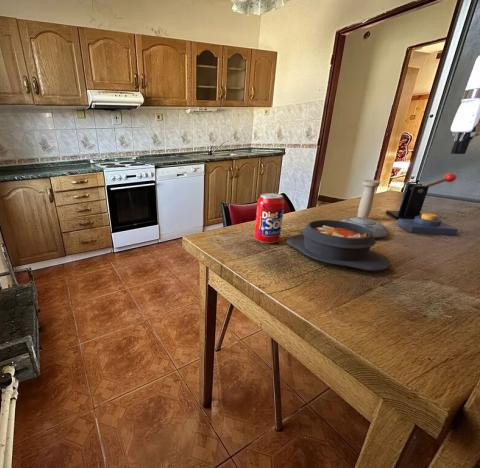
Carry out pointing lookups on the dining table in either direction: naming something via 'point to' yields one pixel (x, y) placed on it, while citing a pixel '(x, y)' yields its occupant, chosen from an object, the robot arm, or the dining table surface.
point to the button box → (427, 226)
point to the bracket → (411, 202)
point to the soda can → (269, 218)
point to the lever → (441, 180)
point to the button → (428, 216)
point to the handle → (367, 197)
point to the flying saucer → (369, 225)
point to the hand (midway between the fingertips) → (457, 153)
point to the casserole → (339, 245)
